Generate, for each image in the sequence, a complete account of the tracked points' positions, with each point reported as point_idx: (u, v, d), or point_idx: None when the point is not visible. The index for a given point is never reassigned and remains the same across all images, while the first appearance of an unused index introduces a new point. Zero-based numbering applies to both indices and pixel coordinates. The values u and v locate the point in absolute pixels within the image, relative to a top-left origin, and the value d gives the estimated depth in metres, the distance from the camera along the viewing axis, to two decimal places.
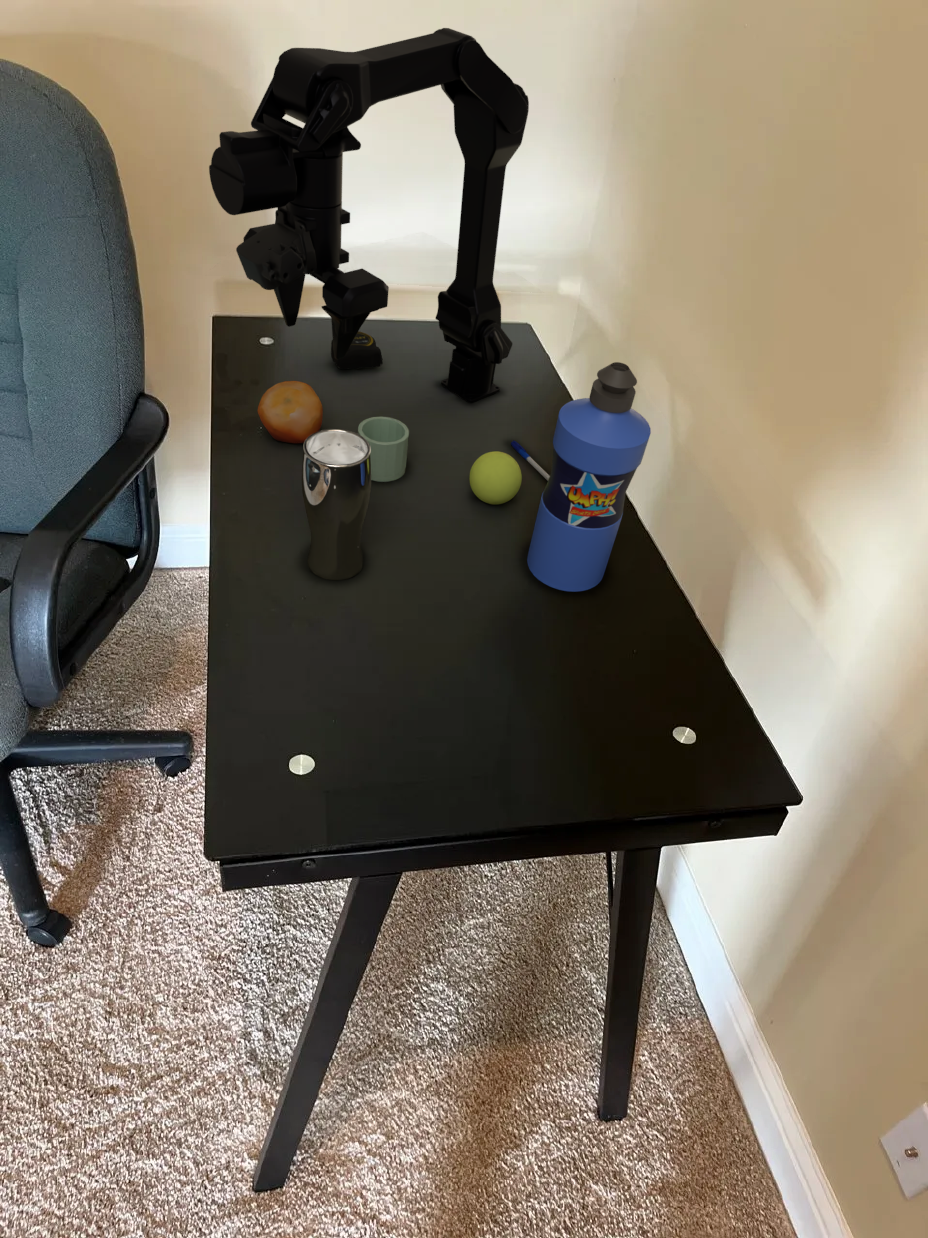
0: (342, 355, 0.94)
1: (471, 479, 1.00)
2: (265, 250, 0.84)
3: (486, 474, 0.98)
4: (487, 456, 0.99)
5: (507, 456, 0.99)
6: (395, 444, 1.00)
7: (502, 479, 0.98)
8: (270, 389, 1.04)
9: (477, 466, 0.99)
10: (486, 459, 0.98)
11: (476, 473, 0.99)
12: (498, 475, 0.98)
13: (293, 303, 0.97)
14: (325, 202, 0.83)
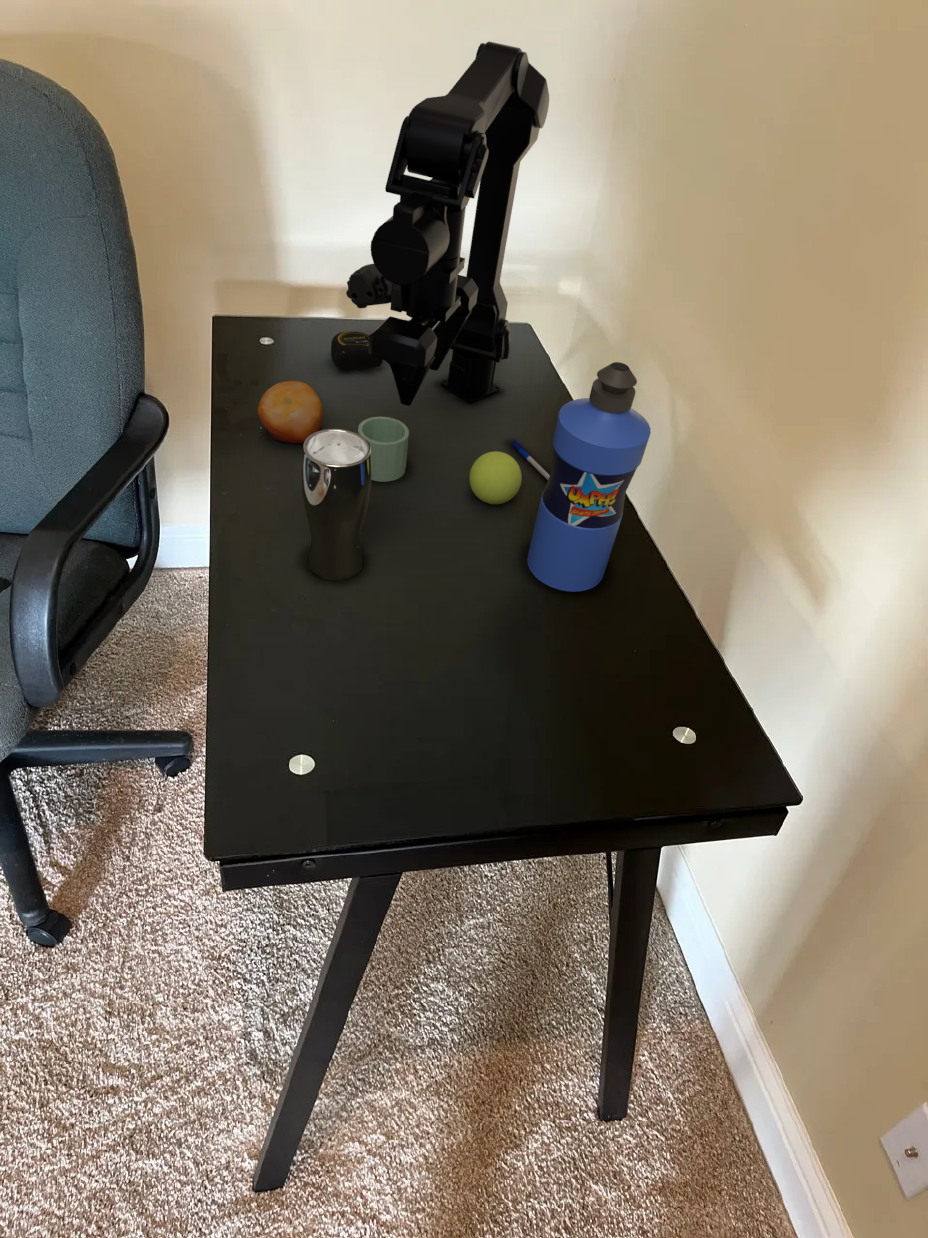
0: (407, 403, 0.92)
1: (471, 479, 1.00)
2: None
3: (486, 474, 0.98)
4: (487, 456, 0.99)
5: (507, 456, 0.99)
6: (395, 444, 1.00)
7: (502, 479, 0.98)
8: (270, 389, 1.04)
9: (477, 466, 0.99)
10: (486, 459, 0.98)
11: (476, 473, 0.99)
12: (498, 475, 0.98)
13: (439, 350, 0.97)
14: (456, 251, 0.84)
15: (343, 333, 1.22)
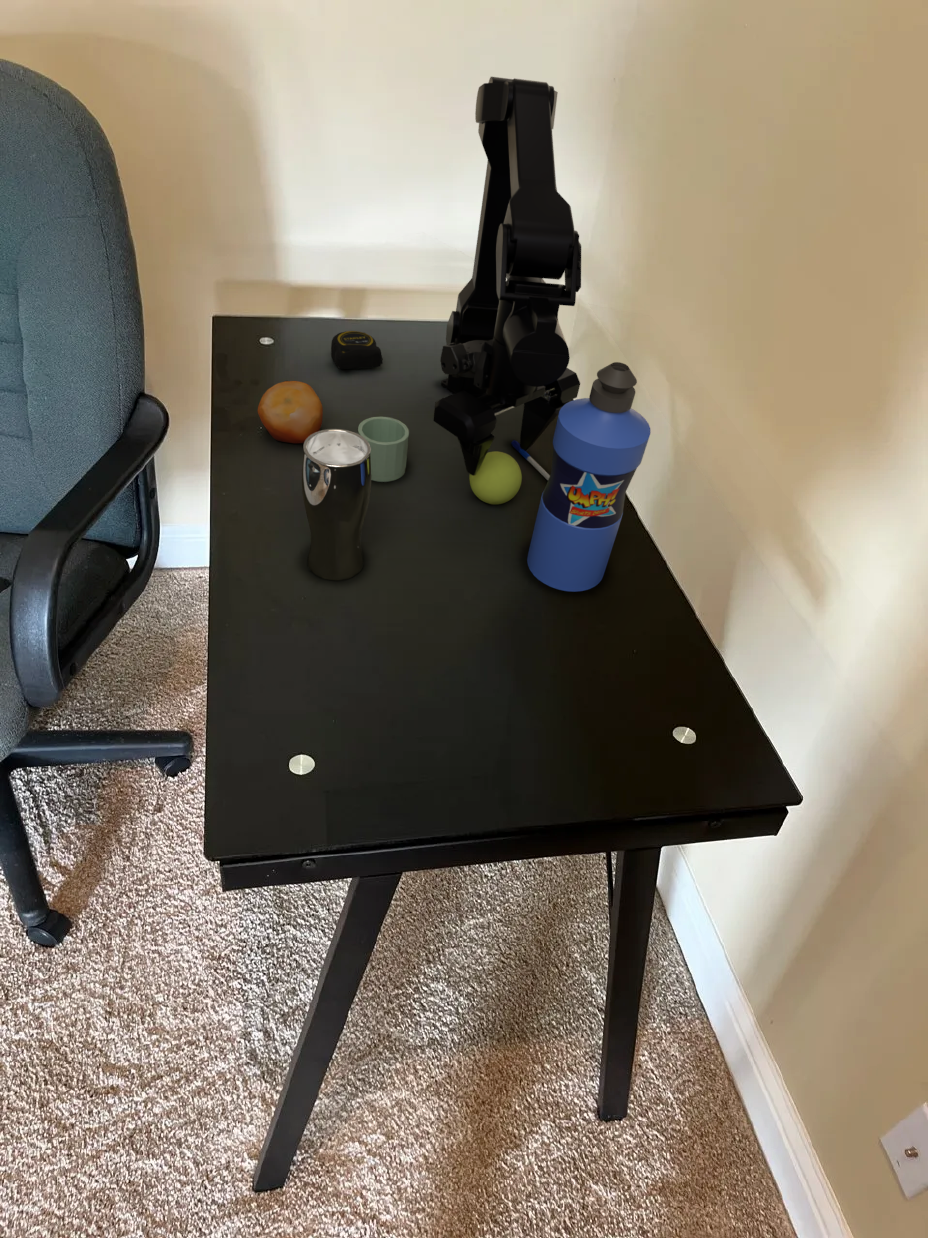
0: (471, 472, 0.96)
1: (471, 479, 1.00)
2: (466, 347, 0.94)
3: (486, 474, 0.98)
4: (487, 456, 0.99)
5: (507, 456, 0.99)
6: (395, 444, 1.00)
7: (502, 479, 0.98)
8: (270, 389, 1.04)
9: None
10: (486, 459, 0.98)
11: (476, 473, 0.99)
12: (498, 475, 0.98)
13: (530, 432, 1.00)
14: None
15: (343, 333, 1.22)
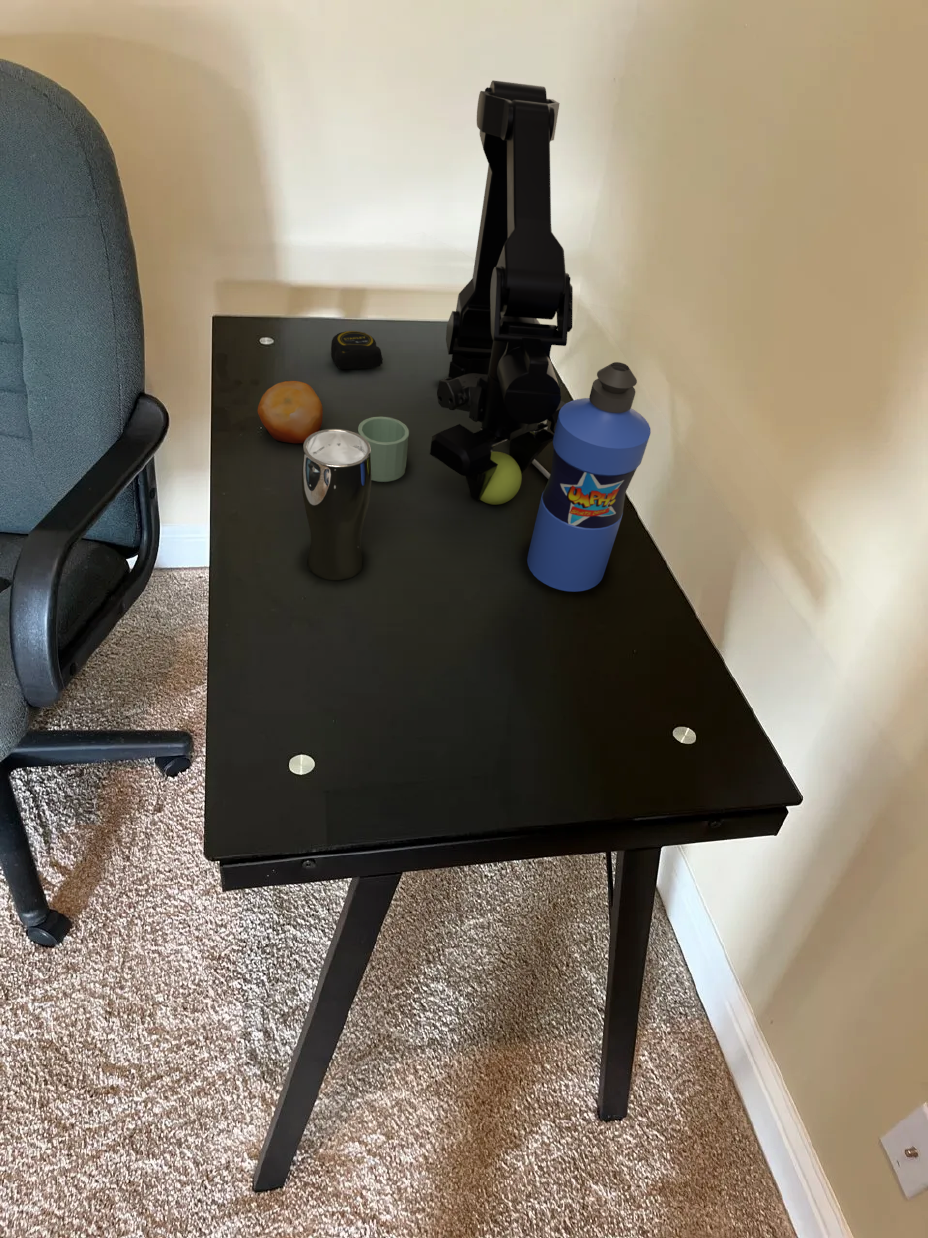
0: (475, 498, 1.00)
1: None
2: (462, 381, 0.96)
3: None
4: None
5: (507, 456, 0.99)
6: (395, 444, 1.00)
7: (502, 479, 0.98)
8: (270, 389, 1.04)
9: None
10: None
11: None
12: (498, 475, 0.98)
13: None
14: None
15: (343, 333, 1.22)
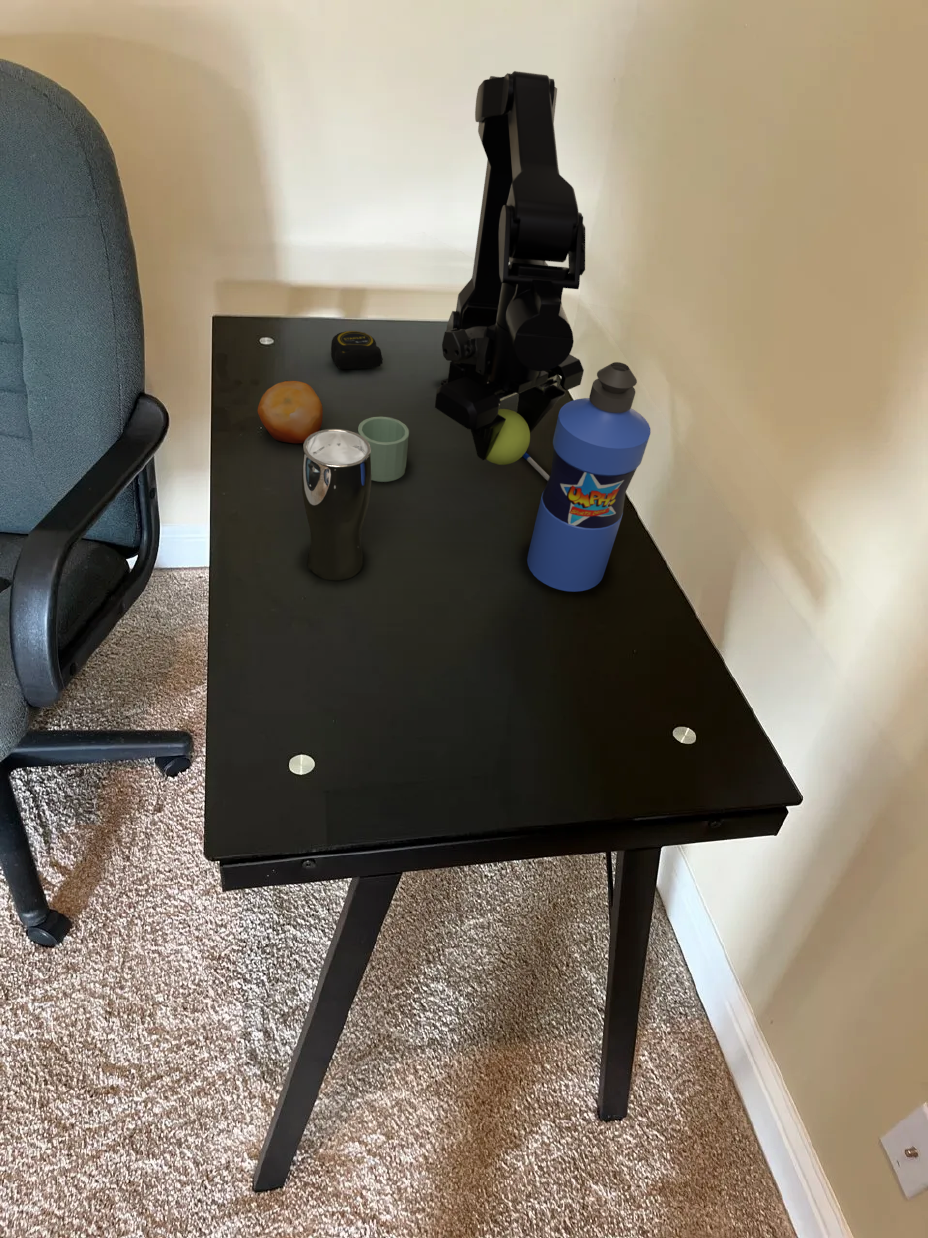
0: (481, 457, 0.96)
1: None
2: (468, 333, 0.92)
3: None
4: None
5: (515, 413, 0.95)
6: (395, 444, 1.00)
7: (510, 437, 0.94)
8: (270, 389, 1.04)
9: None
10: None
11: None
12: (506, 433, 0.94)
13: None
14: None
15: (343, 333, 1.22)
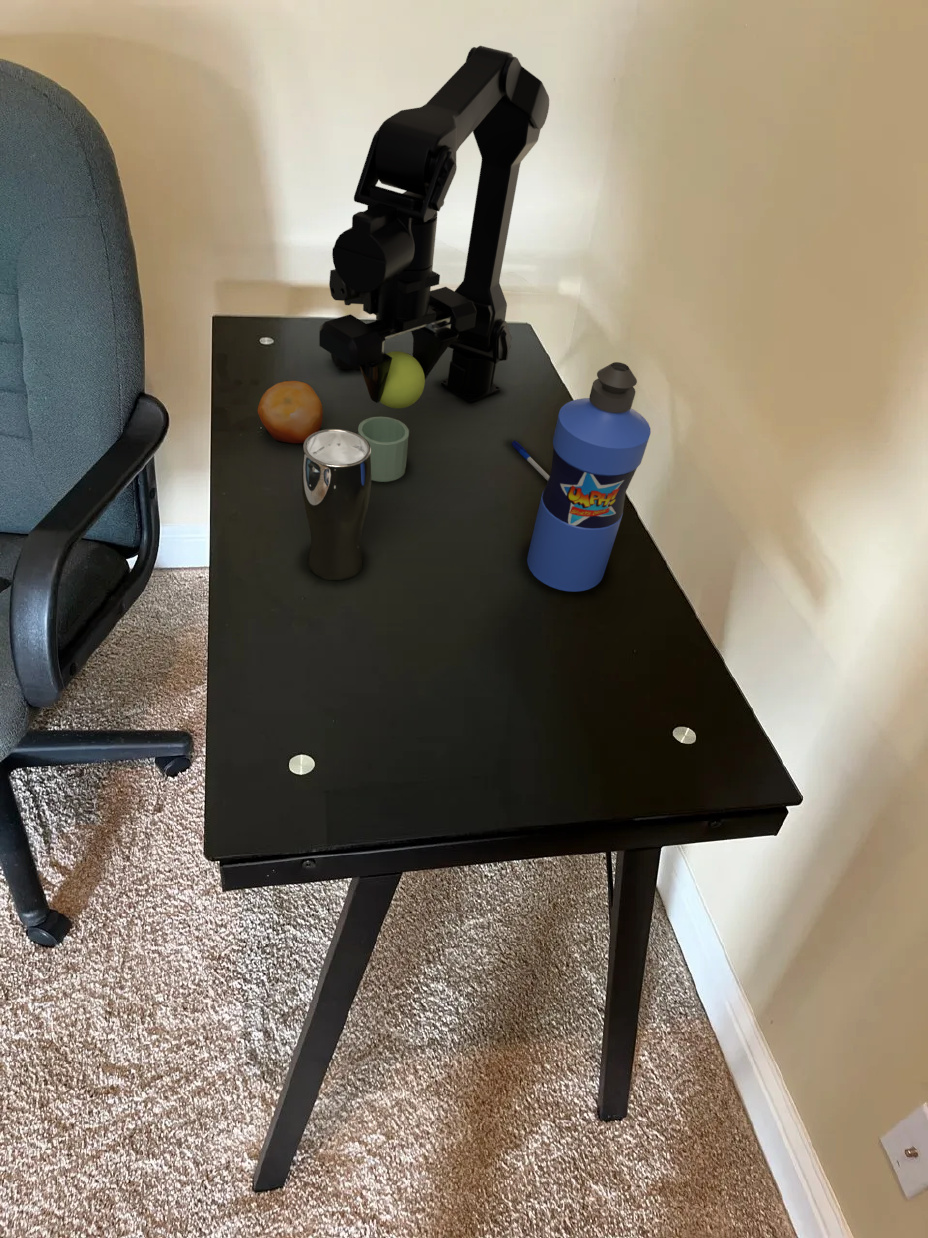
0: (374, 399, 0.95)
1: None
2: None
3: None
4: None
5: (408, 355, 0.94)
6: (395, 444, 1.00)
7: (402, 378, 0.93)
8: (270, 389, 1.04)
9: None
10: None
11: None
12: (397, 374, 0.93)
13: None
14: (427, 262, 0.85)
15: None
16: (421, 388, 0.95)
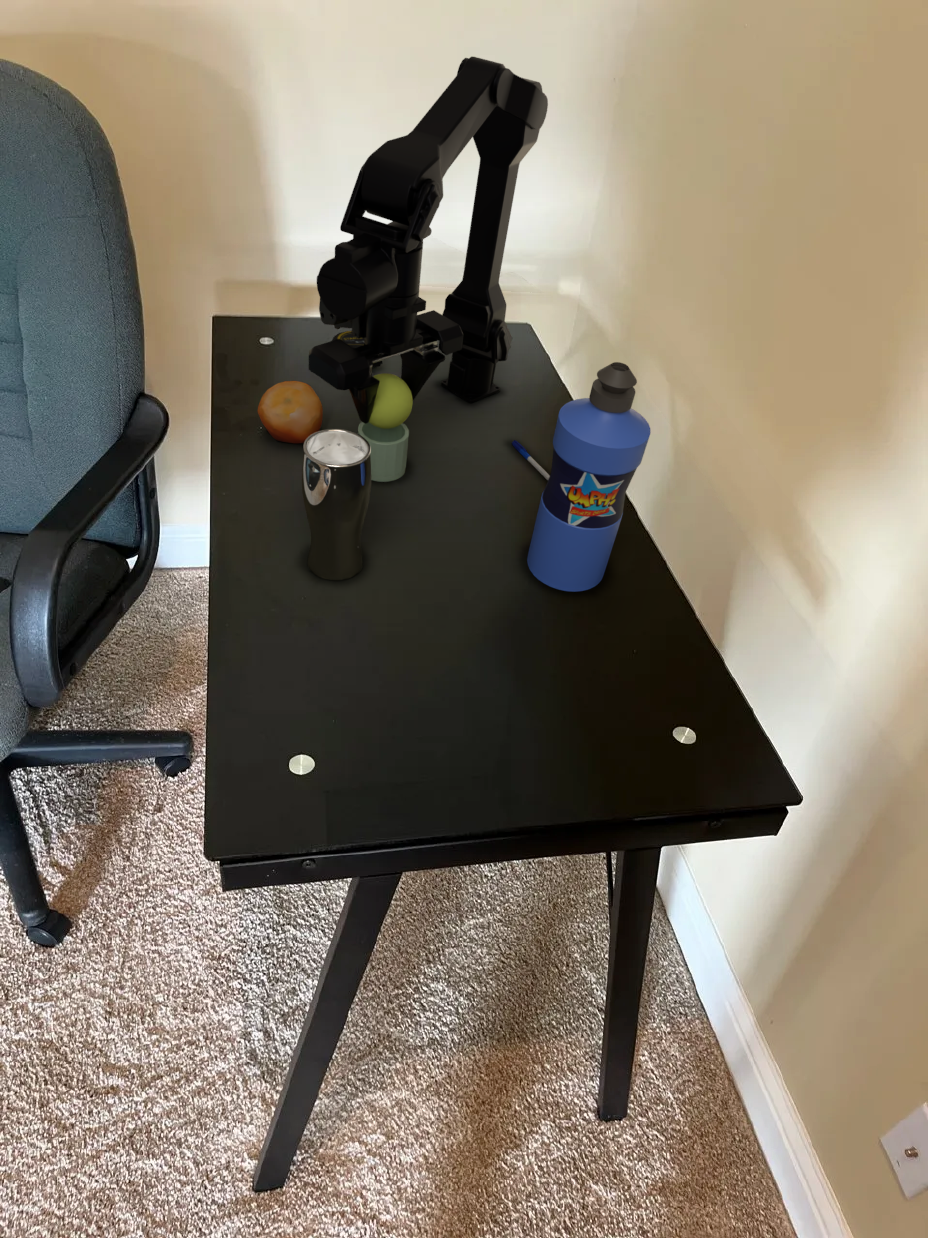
0: (363, 420, 0.97)
1: None
2: None
3: None
4: (374, 377, 0.96)
5: (396, 377, 0.97)
6: (395, 444, 1.00)
7: (389, 400, 0.95)
8: (270, 389, 1.04)
9: None
10: None
11: None
12: (385, 396, 0.95)
13: None
14: (412, 290, 0.87)
15: (343, 333, 1.22)
16: (409, 409, 0.98)
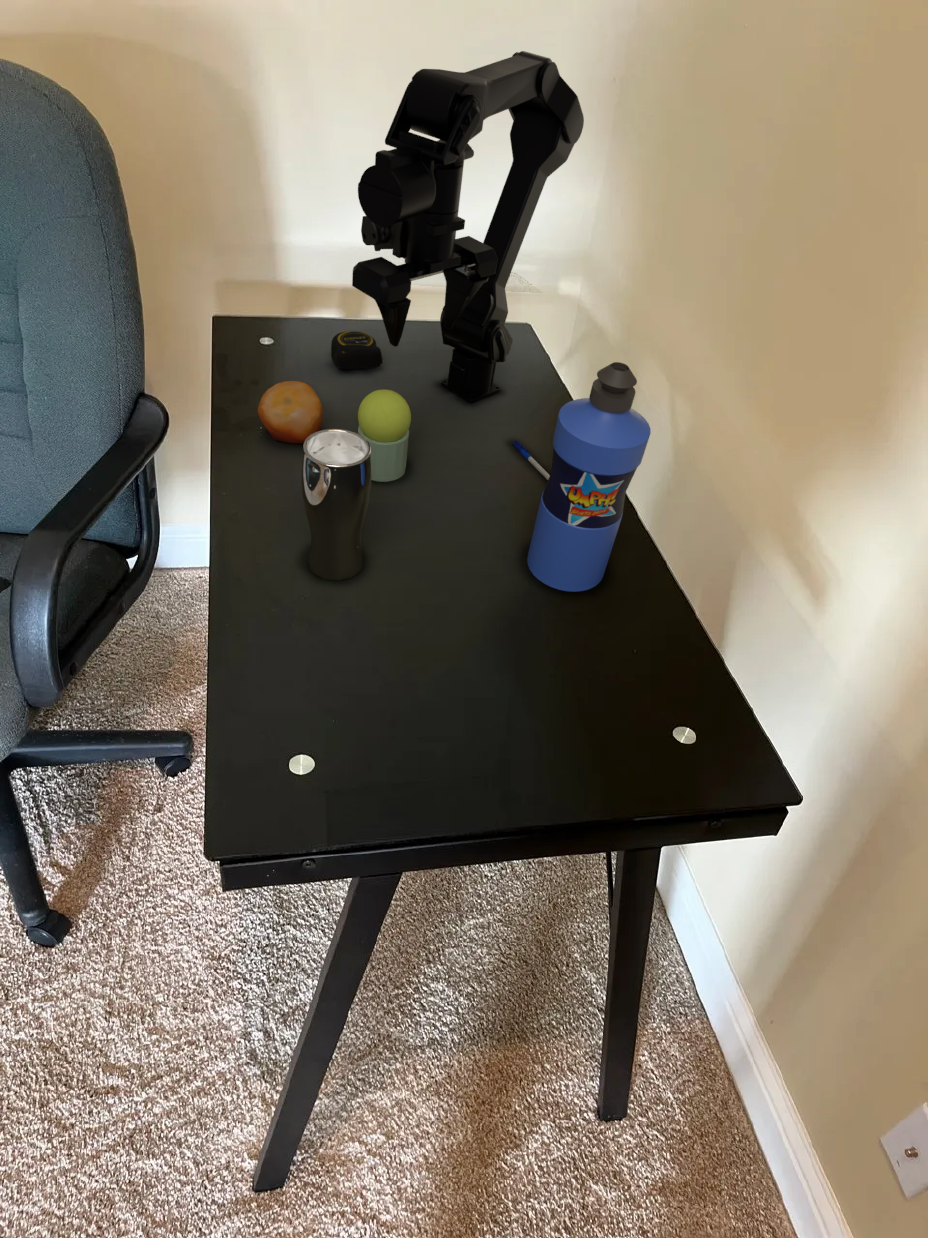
0: (393, 343, 1.01)
1: (358, 417, 0.99)
2: None
3: (371, 411, 0.97)
4: (373, 394, 0.98)
5: (394, 393, 0.98)
6: (395, 444, 1.00)
7: (388, 416, 0.97)
8: (270, 389, 1.04)
9: (364, 403, 0.98)
10: (372, 396, 0.97)
11: (362, 410, 0.98)
12: (383, 412, 0.97)
13: (453, 310, 1.04)
14: (451, 208, 0.91)
15: (343, 333, 1.22)
16: (407, 425, 0.99)
